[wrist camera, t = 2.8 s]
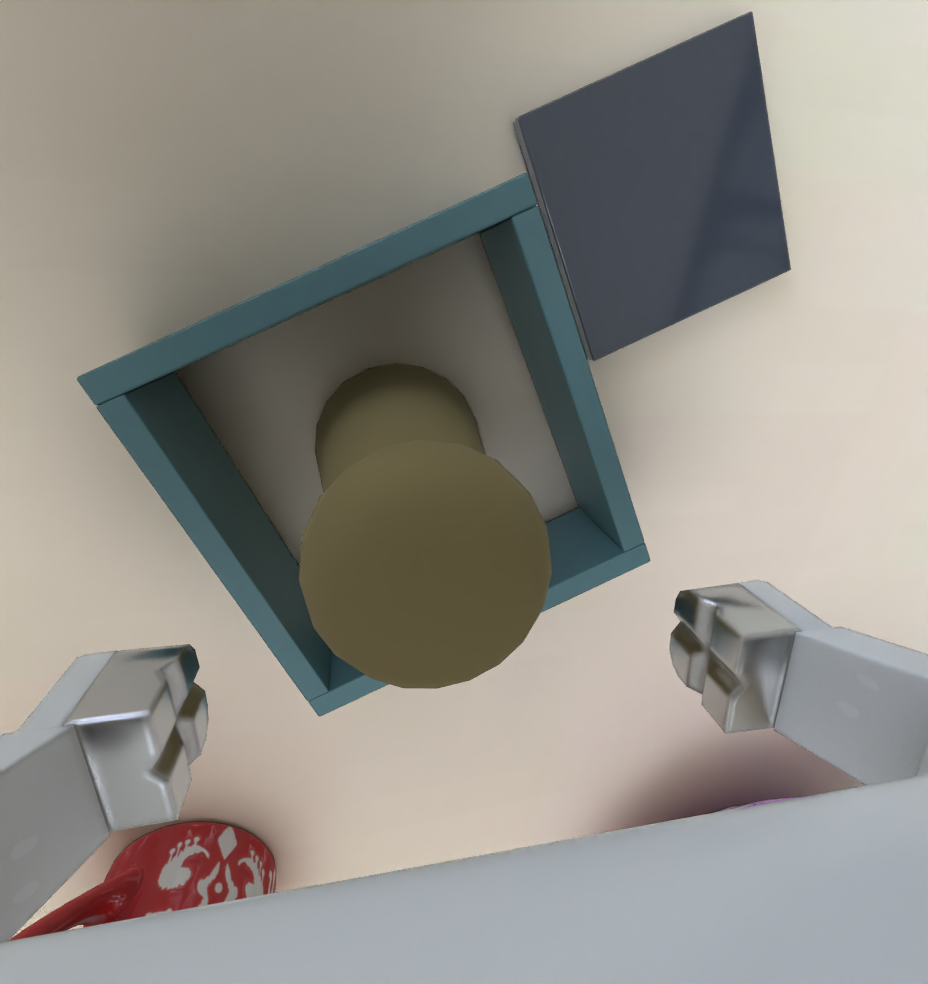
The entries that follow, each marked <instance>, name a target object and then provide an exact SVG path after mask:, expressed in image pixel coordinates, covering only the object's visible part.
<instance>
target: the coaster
mask: <svg viewBox="0 0 928 984" xmlns="http://www.w3.org/2000/svg"><path fill="white" fill-rule="evenodd" d="M513 124H514V128H515V131H516V134H517V137H518V140H519V143H520V147H521V150H522V153H523V156H524V159H525V162H526V166H527V169H528V172H529V175H530V178H531V181H532V185H533V188H534V191H535V194H536V197H537V200H538V204H539V207H540V210H541V213H542V216H543V220H544V223H545V226H546V229H547V232H548V235H549V239H550V242H551V245H552V248H553V251H554V254H555V258H556V261H557V264H558V267H559V270H560V273H561V277H562V280H563V283H564V286H565V289H566V292H567V296H568V299H569V302H570V305H571V308H572V311H573V315H574V318H575V321H576V324H577V327H578V330H579V334H580V337H581V340H582V343H583V346H584V349H585V353H586V356H587V359H589V360H592V361H595V360H597V359H599V358H602V357H604V356H606V355H608V354H610V353H612V352H615V351H617V350H619V349H621V348H623V347H625V346H628V345H630V344H632V343H634V342H636V341H638V340H641V339H643V338H645V337H647V336H649V335H651V334H653V333H656V332H658V331H660V330H662V329H664V328H666V327H669V326H671V325H673V324H675V323H677V322H679V321H682V320H684V319H686V318H688V317H690V316H692V315H695V314H697V313H699V312H701V311H703V310H705V309H707V308H710V307H712V306H714V305H716V304H718V303H720V302H723V301H725V300H727V299H729V298H731V297H733V296H736V295H738V294H740V293H742V292H744V291H746V290H749V289H751V288H753V287H755V286H757V285H759V284H761V283H764V282H766V281H768V280H770V279H772V278H774V277H777V276H779V275H781V274H783V273H785V272H787V271H789V270H791V267H790V260H789V254H788V247H787V240H786V234H785V227H784V220H783V213H782V207H781V200H780V193H779V187H778V180H777V173H776V167H775V160H774V153H773V146H772V140H771V133H770V126H769V120H768V113H767V106H766V100H765V93H764V86H763V79H762V73H761V66H760V59H759V53H758V46H757V39H756V33H755V26H754V19H753V13H752V12H748V13H746V14H744V15H742V16H739V17H737V18H735V19H733V20H731V21H728V22H726V23H724V24H722V25H720V26H717V27H715V28H713V29H711V30H709V31H706V32H704V33H702V34H700V35H698V36H695V37H693V38H691V39H689V40H686V41H684V42H682V43H680V44H678V45H675V46H673V47H671V48H669V49H667V50H664V51H662V52H660V53H658V54H656V55H653V56H651V57H649V58H647V59H645V60H642V61H640V62H638V63H636V64H634V65H631V66H629V67H627V68H625V69H623V70H620V71H618V72H616V73H614V74H612V75H609V76H607V77H605V78H603V79H600V80H598V81H596V82H594V83H592V84H589V85H587V86H585V87H583V88H581V89H578V90H576V91H574V92H572V93H570V94H567V95H565V96H563V97H561V98H559V99H556V100H554V101H552V102H550V103H548V104H545V105H543V106H541V107H539V108H537V109H534V110H532V111H530V112H528V113H525V114H523V115H521V116H519V117H518V118H517V119H516V120H515V121H514V122H513Z"/></svg>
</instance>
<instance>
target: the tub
mask: <svg viewBox="0 0 928 984" xmlns="http://www.w3.org/2000/svg"><path fill="white" fill-rule="evenodd" d="M536 204H537V200H536V197H535V194H534V191H533V187H532V184H531V181H530V178H529V175H528V174H527V173H524V174H522V175H520V176H518V177H515V178H513V179H511V180H509V181H507V182H504V183H502V184H500V185H498V186H496V187H493V188H491V189H489V190H487V191H485V192H483V193H480V194H478V195H476V196H474V197H472V198H469V199H467V200H465V201H463V202H461V203H458V204H456V205H454V206H452V207H450V208H447V209H445V210H443V211H441V212H439V213H436V214H434V215H432V216H430V217H428V218H425V219H423V220H421V221H419V222H417V223H414V224H412V225H410V226H408V227H406V228H403V229H401V230H399V231H397V232H395V233H392V234H390V235H388V236H386V237H384V238H382V239H379V240H377V241H375V242H373V243H371V244H368V245H366V246H364V247H362V248H360V249H357V250H355V251H353V252H351V253H349V254H346V255H344V256H342V257H340V258H338V259H335V260H333V261H331V262H329V263H327V264H324V265H322V266H320V267H318V268H316V269H313V270H311V271H309V272H307V273H305V274H302V275H300V276H298V277H296V278H294V279H291V280H289V281H287V282H285V283H283V284H281V285H278V286H276V287H274V288H272V289H270V290H267V291H265V292H263V293H261V294H259V295H256V296H254V297H252V298H250V299H248V300H245V301H243V302H241V303H239V304H237V305H234V306H232V307H230V308H228V309H226V310H223V311H221V312H219V313H217V314H215V315H212V316H210V317H208V318H206V319H204V320H201V321H199V322H197V323H195V324H193V325H190V326H188V327H186V328H184V329H182V330H180V331H177V332H175V333H173V334H171V335H169V336H166V337H164V338H162V339H160V340H158V341H155V342H153V343H151V344H149V345H147V346H144V347H142V348H140V349H138V350H136V351H133V352H131V353H129V354H127V355H125V356H122V357H120V358H118V359H116V360H114V361H111V362H109V363H107V364H105V365H103V366H100V367H98V368H96V369H94V370H92V371H89V372H87V373H85V374H83V375H81V376H79V377H78V378H77V380H78V382H79V383H80V385H81V386H82V387H83V389H84V390H85V392H86V393H87V394H88V396H89V397H90V399H91V400H92V401H93V403H94V404H95V405H98V406H97V409H98V410H99V412H100V413H101V415H102V416H103V417H104V419H105V420H106V422H107V423H108V424H109V426H110V427H111V429H112V430H113V431H114V433H115V434H116V436H117V437H118V438H119V440H120V441H121V442H122V444H123V445H124V447H125V448H126V449H127V451H128V452H129V454H130V455H131V456H132V458H133V459H134V461H135V462H136V463H137V465H138V466H139V468H140V469H141V470H142V472H143V473H144V474H145V476H146V477H147V479H148V480H149V481H150V483H151V484H152V486H153V487H154V488H155V490H156V491H157V493H158V494H159V495H160V497H161V498H162V500H163V501H164V502H165V504H166V505H167V506H168V508H169V509H170V511H171V512H172V513H173V515H174V516H175V518H176V519H177V520H178V522H179V523H180V525H181V526H182V527H183V529H184V530H185V531H186V533H187V534H188V536H189V537H190V538H191V540H192V541H193V543H194V544H195V545H196V547H197V548H198V550H199V551H200V552H201V554H202V555H203V557H204V558H205V559H206V561H207V562H208V563H209V565H210V566H211V568H212V569H213V570H214V572H215V573H216V575H217V576H218V577H219V579H220V580H221V582H222V583H223V584H224V586H225V587H226V589H227V590H228V591H229V593H230V594H231V595H232V597H233V598H234V600H235V601H236V602H237V604H238V605H239V607H240V608H241V609H242V611H243V612H244V614H245V615H246V616H247V618H248V619H249V621H250V622H251V623H252V625H253V626H254V627H255V629H256V630H257V632H258V633H259V634H260V636H261V637H262V639H263V640H264V641H265V643H266V644H267V646H268V647H269V648H270V650H271V651H272V652H273V654H274V655H275V657H276V658H277V659H278V661H279V662H280V664H281V665H282V666H283V668H284V669H285V671H286V672H287V673H288V675H289V676H290V678H291V679H292V680H293V682H294V683H295V684H296V686H297V687H298V689H299V690H300V691H301V693H302V694H303V696H304V697H305V698H306V700H307V701H309V703H310V705H311V706H312V708H313V709H314V710H315V712H316V713H317V715H318V716H322V715H324V714H327V713H329V712H331V711H333V710H335V709H337V708H339V707H341V706H344V705H346V704H348V703H350V702H352V701H354V700H356V699H358V698H361V697H363V696H365V695H367V694H369V693H371V692H373V691H375V690H378V689H380V688H382V687H384V686H386V685H388V684H387V683H384V682H380V681H377V680H373V679H371V678H370V677H368V676H366V675H365V674H363V673H362V672H360V671H359V670H357V669H356V668H354V667H353V666H351V665H350V664H348V663H346V662H345V661H343V660H342V659H340V658H339V657H337V656H336V655H335V654H334V653H333V652H332V650H331V649H330V648H329V647H328V645H327V644H326V643H325V642H324V640H323V639H322V638H321V636H320V635H319V634H318V633H317V631H316V630H315V629H314V627H313V624H312V621H311V618H310V615H309V611H308V608H307V605H306V602H305V599H304V596H303V592H302V589H301V586H300V582H299V571H300V567H299V565H298V564H297V562H296V561H295V559H294V558H293V556H292V555H291V553H290V551H289V550H288V548H287V547H286V545H285V544H284V542H283V540H282V539H281V537H280V536H279V534H278V533H277V531H276V529H275V528H274V526H273V525H272V523H271V522H270V520H269V518H268V517H267V515H266V514H265V512H264V511H263V509H262V508H261V506H260V504H259V503H258V501H257V500H256V498H255V497H254V495H253V493H252V492H251V490H250V489H249V487H248V486H247V484H246V482H245V481H244V479H243V478H242V476H241V475H240V473H239V471H238V470H237V468H236V467H235V465H234V464H233V462H232V461H231V459H230V457H229V456H228V454H227V453H226V451H225V450H224V448H223V446H222V445H221V443H220V442H219V440H218V439H217V437H216V435H215V434H214V432H213V431H212V429H211V428H210V426H209V424H208V423H207V421H206V420H205V418H204V417H203V415H202V414H201V412H200V410H199V409H198V407H197V406H196V404H195V403H194V401H193V399H192V398H191V396H190V395H189V393H188V392H187V390H186V388H185V387H184V385H183V384H182V382H181V381H180V379H179V377H178V376H177V374H176V373H175V371H177V370H179V369H181V368H184V367H186V366H188V365H190V364H192V363H194V362H197V361H199V360H201V359H203V358H205V357H208V356H210V355H212V354H214V353H216V352H219V351H221V350H223V349H225V348H227V347H230V346H232V345H234V344H236V343H238V342H240V341H243V340H245V339H247V338H249V337H251V336H254V335H256V334H258V333H260V332H262V331H265V330H267V329H269V328H271V327H273V326H276V325H278V324H280V323H282V322H284V321H286V320H289V319H291V318H293V317H295V316H297V315H300V314H302V313H304V312H306V311H308V310H311V309H313V308H315V307H317V306H319V305H321V304H324V303H326V302H328V301H330V300H332V299H335V298H337V297H339V296H341V295H343V294H346V293H348V292H350V291H352V290H354V289H357V288H359V287H361V286H363V285H365V284H367V283H370V282H372V281H374V280H376V279H378V278H381V277H383V276H385V275H387V274H389V273H392V272H394V271H396V270H398V269H400V268H402V267H405V266H407V265H409V264H411V263H413V262H416V261H418V260H420V259H422V258H424V257H427V256H429V255H431V254H433V253H435V252H438V251H440V250H442V249H444V248H446V247H448V246H451V245H453V244H455V243H457V242H459V241H462V240H464V239H466V238H468V237H470V236H473V235H475V234H477V233H479V232H480V237H481V240H482V242H483V245H484V248H485V251H486V253H487V256H488V259H489V262H490V264H491V267H492V270H493V273H494V275H495V278H496V281H497V284H498V286H499V289H500V292H501V295H502V297H503V300H504V303H505V306H506V308H507V311H508V314H509V317H510V319H511V322H512V325H513V328H514V330H515V333H516V336H517V339H518V341H519V344H520V347H521V350H522V352H523V355H524V358H525V361H526V363H527V366H528V369H529V372H530V374H531V377H532V380H533V383H534V385H535V388H536V391H537V394H538V396H539V399H540V402H541V405H542V407H543V410H544V413H545V416H546V418H547V421H548V424H549V427H550V429H551V432H552V435H553V438H554V440H555V443H556V446H557V449H558V451H559V454H560V457H561V460H562V462H563V465H564V468H565V471H566V473H567V476H568V479H569V482H570V484H571V487H572V490H573V493H574V495H575V498H576V501H577V504H578V506H579V508H577V509H575V510H573V511H571V512H569V513H566V514H564V515H562V516H560V517H558V518H556V519H554V520H551V521H549V522H547V523H545V524H546V528H547V533H548V539H549V548H550V557H551V566H552V574H551V578H550V583H549V587H548V591H547V596H546V600H545V604H544V606H543V608H542V610H541V612H543V611H545V610H548V609H550V608H552V607H554V606H556V605H558V604H560V603H562V602H565V601H567V600H569V599H571V598H573V597H575V596H577V595H579V594H582V593H584V592H586V591H588V590H590V589H592V588H594V587H596V586H599V585H601V584H603V583H605V582H607V581H609V580H611V579H613V578H616V577H618V576H620V575H622V574H624V573H626V572H628V571H630V570H633V569H635V568H637V567H639V566H641V565H643V564H645V563H647V562H649V561H650V557H649V554H648V551H647V548H646V545H645V543H644V539H643V535H642V532H641V529H640V526H639V523H638V520H637V516H636V513H635V510H634V507H633V504H632V501H631V498H630V494H629V491H628V488H627V485H626V482H625V479H624V475H623V472H622V469H621V466H620V463H619V460H618V456H617V453H616V450H615V447H614V444H613V441H612V437H611V434H610V431H609V428H608V425H607V422H606V418H605V415H604V412H603V409H602V406H601V403H600V399H599V396H598V393H597V390H596V387H595V384H594V380H593V377H592V374H591V371H590V368H589V365H588V361H587V358H586V355H585V352H584V349H583V346H582V343H581V339H580V336H579V333H578V330H577V327H576V324H575V320H574V317H573V314H572V311H571V308H570V305H569V301H568V298H567V295H566V292H565V289H564V286H563V282H562V279H561V276H560V273H559V270H558V267H557V263H556V260H555V257H554V254H553V251H552V248H551V244H550V241H549V238H548V235H547V232H546V229H545V225H544V222H543V219H542V216H541V213H540V210H539V207H538V206H536ZM541 612H540V613H541Z"/></svg>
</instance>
